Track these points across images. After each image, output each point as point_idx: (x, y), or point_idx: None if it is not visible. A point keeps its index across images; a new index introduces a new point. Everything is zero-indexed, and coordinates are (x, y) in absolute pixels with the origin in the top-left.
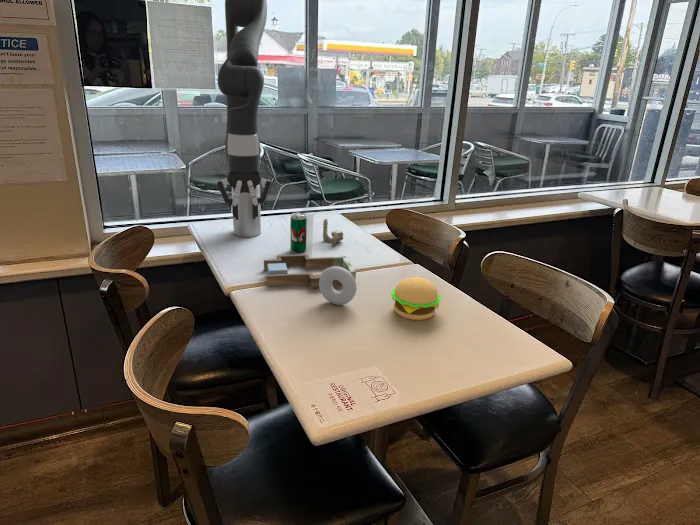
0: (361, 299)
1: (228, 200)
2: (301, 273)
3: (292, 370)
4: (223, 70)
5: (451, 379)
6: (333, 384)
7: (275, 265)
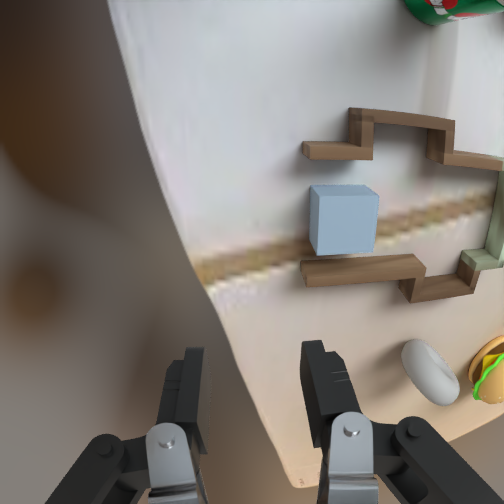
0: (458, 327)
1: (139, 488)
2: (401, 271)
3: (293, 459)
4: None
5: None
6: None
7: (344, 213)
